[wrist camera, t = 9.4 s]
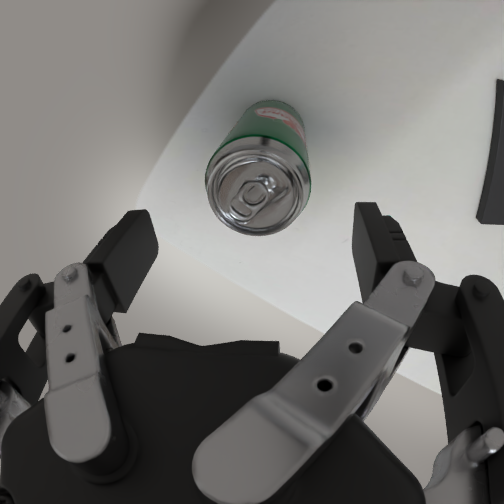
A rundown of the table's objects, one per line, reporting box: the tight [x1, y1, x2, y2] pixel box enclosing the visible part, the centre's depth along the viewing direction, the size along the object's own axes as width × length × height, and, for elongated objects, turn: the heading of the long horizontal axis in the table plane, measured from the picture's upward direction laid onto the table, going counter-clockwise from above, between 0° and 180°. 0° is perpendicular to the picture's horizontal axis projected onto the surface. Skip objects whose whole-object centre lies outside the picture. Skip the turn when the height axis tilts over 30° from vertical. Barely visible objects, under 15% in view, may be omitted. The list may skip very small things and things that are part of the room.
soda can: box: [205, 100, 311, 236], centre depth 18 cm, size 5×5×12 cm
